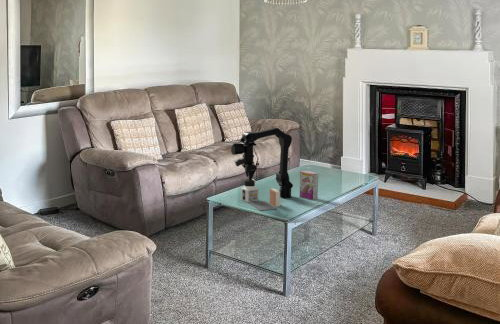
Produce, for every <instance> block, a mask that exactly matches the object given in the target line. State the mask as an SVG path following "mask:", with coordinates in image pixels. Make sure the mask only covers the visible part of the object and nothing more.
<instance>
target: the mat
mask: <svg viewBox="0 0 500 324" xmlns="http://www.w3.org/2000/svg"><path fill="white" fill-rule="evenodd" d="M248 204H249V205H250V206H253V207H254V208H255V209H257V210H258V211H260V212H263V211H270V210H272V211H274V210H277V209H278V208H277V207H275V206H273V205H271V204H270V202H268V201H266V200H258V201H253V202H248Z"/></svg>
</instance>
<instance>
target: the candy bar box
mask: <svg viewBox="0 0 500 324" xmlns="http://www.w3.org/2000/svg"><path fill="white" fill-rule="evenodd" d="M299 172H300V173H299V197H300V198H304V199H307V200H311V201H314V200H318V197H319V196H318V195H319V194H318V191H319V190H318V189H319V173H318V172H313V171H309V170H301V171H299Z"/></svg>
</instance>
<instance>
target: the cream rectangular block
mask: <svg viewBox="0 0 500 324" xmlns="http://www.w3.org/2000/svg"><path fill="white" fill-rule="evenodd" d="M280 198H281V197H280V191H279V190H278V189H276V188H269V204H271V205H273V206H274V207H276V208H277V207H281V205H280V204H281V199H280Z"/></svg>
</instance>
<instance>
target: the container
mask: <svg viewBox="0 0 500 324" xmlns="http://www.w3.org/2000/svg"><path fill="white" fill-rule="evenodd" d="M240 190H241V191H240V193H241V194H240V195H241V197H240V199H241V201H243V202H246V203H249V202H257V201H259V187H256V179H254V178H252V180H249V178H246V179H244V186H243V187H241V188H240Z"/></svg>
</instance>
